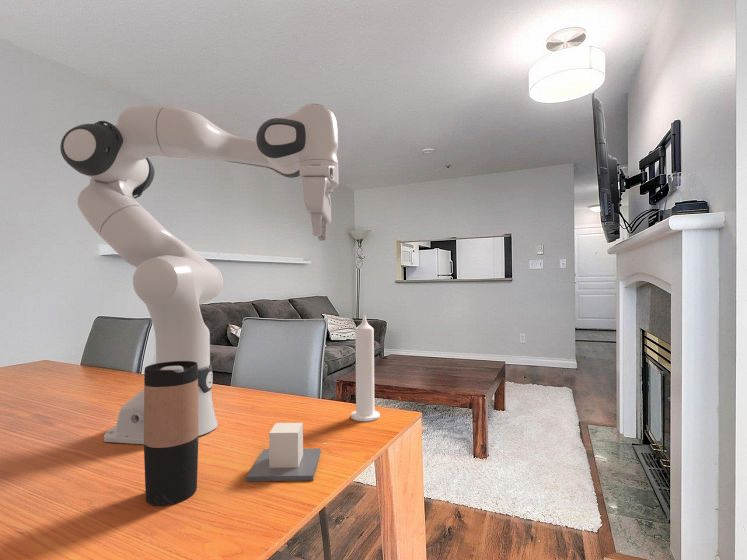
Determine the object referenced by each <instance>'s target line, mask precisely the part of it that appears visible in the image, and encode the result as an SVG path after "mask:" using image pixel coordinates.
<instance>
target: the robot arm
mask: <svg viewBox="0 0 747 560" xmlns="http://www.w3.org/2000/svg"><path fill="white" fill-rule="evenodd" d="M338 129H339V128H338V124H337V118H336V116H335V114H334V113H333V111H332V110H330V109H329V108H328V107H326V106H324V105H322V104H318V103H306V104H304V105H302V107H300V108H299V109H298V110H297V111H295V112H293V113H291V114H289V115H286V116H284V117H275V118H270V119H267V120H266V121H264V122H263V123H262V124H261V125H260V127H259V128H258V129H257V133H256V135H255V137H256V138H255V139H253V138H247V137H240V136H237V135H233V134H231V133H229V132H228V131H226V130H224V129H222V128H220V127H219V126H217V124H214V123H212V122H211V121H210V120H209V119H208V118H206V117H204V116H203V115H202V114H200V113H198V112H194V111H193V110H188V109H186V108H181V107H175V106H166V105H165V106H164V105H139V106H132V107H131V106H130V107H127V108H125V109H123V110H122V111H121V112H120V114H119V115H118V118H117V122H116V124H115V125H114V124H113V123H111V122H109V121H106V120H99V121H96V122H95V123H83V124H79V125H76V126H74V127H72V128H71V129H69V130H68V131H67V132H65V134H64V135H63V137H62V139H61V140H60V154H61V156H62V158H63V160H64V161H65V162H66V163H67V165H69V166H70V167H71V168H72V169H74V170H75V171H76V172H78V173H80V174H82V175H84V176H87V177H89V179H90V180H89V184H88V185H87V186H85V187H84V188H83V189H82V190H81V191H80V193H79V194H78V197H77V206H78V209H79V211H80V212H81V213H82V216H83V217H84V218H85V219H86V221H87V223H88V224H89V225H90V226H91V228H92V229H93V230H94V231H95V232H96V233H97V234H98V235H99V236H100V238H101V239H103V240H104V241H105V242H106V243H107V245H109V246H110V247H111V248H112V249H113V250H114V252H116V253H117V255H119V256H120V257H121V259H123V260H124V261H125V262H126V263H127V264H129V265H131V266H133V267H136V269H135V270H134V273H133V276H132V286H133V290H134V291H135V293H136V294H135V295H136V296H137V297H138V298H139V299H140V300H141V301H142V302H143V303H144V304H145V306H146V308H147V310H148V313H149V316H150V319H151V322H152V325H153V331H154V337H155V338H154V339H155V364H157V363H163V362H172V361H193V362H196V363H197V364H198V428H199V434H198V435H199V437H200V436H202V435H206V434H208V433H210V432H212V431H214V430H215V429H216V428H217V427H218V426H219V423H218V420H217V417H216V413H215V409H214V408H215V407H214V402H213V397H212V388H213V381H214V379H213V375H214V374H213V366H212V363H211V334H210V333H211V332H210V329H209V327H208V326H207V325H206V323H205V322H204V319H203V315H202V312H201V307H200V305H202V304H205V303H208V302H209V301H211V300H213V299H214V298H216V297H217V296H218V295H219V294H220V293H221V291H222V290H223V287H224V277H223V274H222V272H221V270H220V269H219V268H218V267H217V266H216V265H214V264H212V263H211V262H209V261H208V260H207V259H205V258H204V257H203V256H201V255H200V253H198V252H197V251H195V250H194V249H193V248H191V247H190V246H189V245H187V244H186V243H185V242H183V241H182V240H180V239H179V237H176V236H175V235H174V234H172V233H171V232H170V231H169V230H168V229H166V228H165V227H164V226H163V225H162V224H161V223H160V222H159V220H157V219H156V218H155V217H154V216H152V214H151V213H150V212H149V211H147V209H146V208H145V207H143V206H142V205H141V204H140V203H139V202H138V201H137V200H136V199H138V198H140V197H141V196H142V194H143V192H145V191H146V190H147V189H148V188H149V187H150V186H151V184H152V182H153V181H154V178H155V174H156V173H155V167H154V165H153V163H152V162H151V160H150V159H149V158H150V157H153V156H154V157H155V156H156V157H157V156H161V157H167V158H175V159H177V158H178V159H193V160H206V161H207V160H209V161H210V160H211V161H221V162H222V161H223V162H229V163H233V164H234V163H237V164H240V165H241V164H242V165H249V166H255V167H263V168H266V169H270V170H272V171H273V172H276V173H278V174H279V175H281V176H283V177H284V178H285V177H286V178H291V179H292V178H298V177H299V185H300V187H301V188H302V191H303V192H302V193H303V201H304V207H305V210H306V212H307V213H308V214H309V216H310V219H311V220H310V221H311V227H312V235H313V236H314V237H317V239H318V241H319V242H325V241H326V240H327V231H328V225H330V224H331V223H332V200H331V195H332V194H334V189H336V188H338V187H339V186H340V185H339V184H340V181H339V161H338V156H337V153H338V149H339V132H338ZM103 442H105V443H116V444H117V443H118V444H131V445H132V444H133V445H134V444H135V445H144V388H143V389H142V390H141V391H140V392H138V393H137V394H136V395H134V396H133V397H132V398H131V399H129V400H128V401H127V402H126V403H125V404H123V405H122V407H121V408H120V409H119V412H118V414H117V419H116V424H115V426H113V427H112V428H110V429H108V430H107V431H106V432H105V434H104V436H103Z"/></svg>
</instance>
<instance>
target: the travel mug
mask: <svg viewBox="0 0 747 560" xmlns="http://www.w3.org/2000/svg"><path fill="white" fill-rule="evenodd" d="M143 373H144V374H143V377H144V378H143V380H144V382H143V385H144V387H143V389H144V444H143V457H144V458H143V459H144V461H143V462H144V464H143V465H144V487H145V489H144V490H145V501H146V503H147V504H148V505H150V506H155V507H165V506H171V505H175V504H178V503H181V502H184V501H186V500H188V499H190V498H191V497H192V496H193V495H195V494H196V491H197V488H198V463H199V437H200V436H199V435H198V434H199V428H198V364H197V363H196V362H193V361H172V362H163V363H157V364H156V363H153V364H149V365H147V366H145V367H144V372H143Z"/></svg>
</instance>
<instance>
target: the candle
mask: <svg viewBox="0 0 747 560" xmlns="http://www.w3.org/2000/svg"><path fill="white" fill-rule="evenodd" d="M374 331H375V329H374V327H372V325H370V324H369V322H368V321H367V316H366V314H364V315H363V317H362V320H361V322H360V324H359V325H357V327H355V330H354V332H355V339H354V340H355V410H354V411H352V412H351V413H350V417H351V418H350V419H352V420H353V421H357V422H373V421H376V420H378V419H380V417H381V414H380V412H379V411H377V410H375V346H374V345H375V336H374V334H375V332H374Z"/></svg>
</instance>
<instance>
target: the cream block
mask: <svg viewBox="0 0 747 560" xmlns="http://www.w3.org/2000/svg"><path fill="white" fill-rule="evenodd" d="M303 424H304V423H303V422H275V423H274V425H273V427H272V428H271V429H270V431H269V433H268V449H269V468H296V467H299V464H300V462H301V459H302V457H303V449H304V427H303V426H304V425H303Z"/></svg>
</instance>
